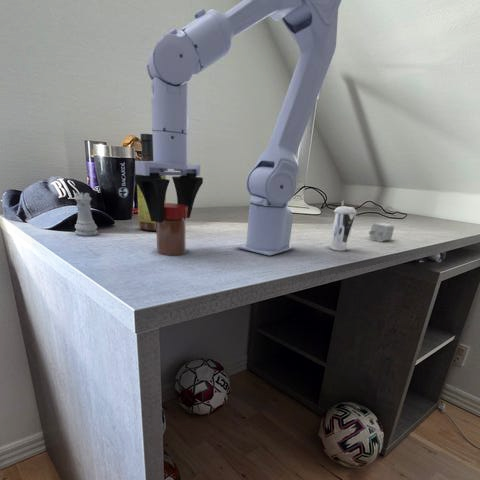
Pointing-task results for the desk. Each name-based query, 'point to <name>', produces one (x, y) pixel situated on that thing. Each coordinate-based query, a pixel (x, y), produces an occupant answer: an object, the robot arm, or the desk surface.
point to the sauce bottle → (143, 211)
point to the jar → (171, 236)
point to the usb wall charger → (381, 231)
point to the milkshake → (342, 226)
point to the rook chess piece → (84, 216)
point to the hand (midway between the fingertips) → (171, 219)
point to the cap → (175, 211)
